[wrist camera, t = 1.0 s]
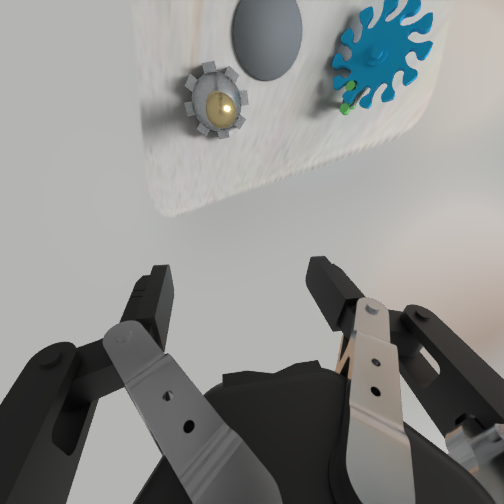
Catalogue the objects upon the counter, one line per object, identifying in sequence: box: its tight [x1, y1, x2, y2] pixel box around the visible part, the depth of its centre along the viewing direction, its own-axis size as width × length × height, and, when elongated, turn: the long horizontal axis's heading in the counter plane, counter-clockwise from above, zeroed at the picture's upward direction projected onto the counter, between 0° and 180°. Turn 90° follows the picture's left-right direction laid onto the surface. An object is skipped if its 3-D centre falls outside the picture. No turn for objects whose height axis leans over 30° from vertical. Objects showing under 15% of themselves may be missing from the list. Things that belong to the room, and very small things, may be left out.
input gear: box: [184, 61, 248, 139], centre depth 23 cm, size 8×8×12 cm
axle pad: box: [233, 0, 302, 81], centre depth 25 cm, size 8×8×1 cm
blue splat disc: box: [332, 0, 433, 115], centre depth 27 cm, size 11×6×10 cm
